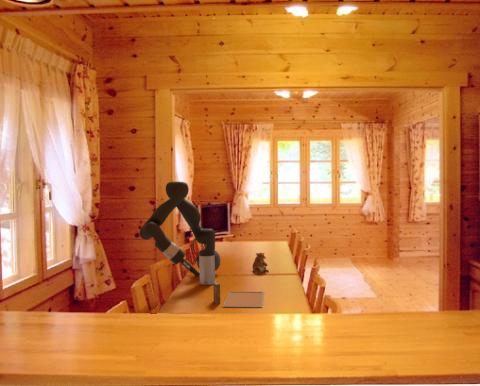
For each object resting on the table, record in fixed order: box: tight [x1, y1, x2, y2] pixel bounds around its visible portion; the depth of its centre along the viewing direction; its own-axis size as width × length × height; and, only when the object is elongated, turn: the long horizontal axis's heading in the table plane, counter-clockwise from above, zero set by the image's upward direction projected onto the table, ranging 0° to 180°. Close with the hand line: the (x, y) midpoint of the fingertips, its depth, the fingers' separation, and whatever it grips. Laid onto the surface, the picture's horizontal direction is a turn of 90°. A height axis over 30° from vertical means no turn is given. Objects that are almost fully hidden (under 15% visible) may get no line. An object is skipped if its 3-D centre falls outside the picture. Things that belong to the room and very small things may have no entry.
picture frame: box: [222, 291, 265, 309], centre depth 220 cm, size 19×1×28 cm
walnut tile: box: [212, 281, 221, 305], centre depth 216 cm, size 2×6×10 cm, turn 17°
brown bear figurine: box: [251, 252, 270, 275], centre depth 288 cm, size 10×14×13 cm
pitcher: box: [191, 233, 221, 272], centre depth 281 cm, size 11×19×30 cm, turn 80°
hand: (198, 275), depth 213 cm, fingers closed
